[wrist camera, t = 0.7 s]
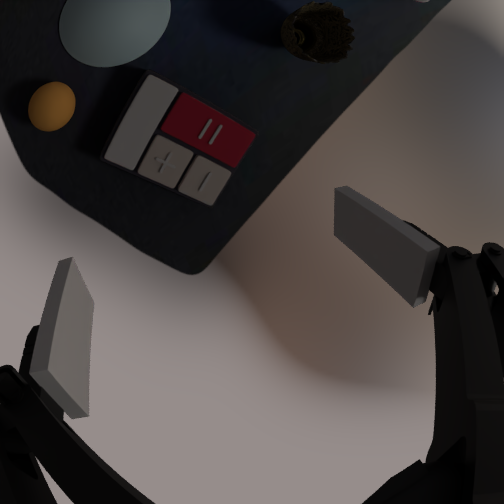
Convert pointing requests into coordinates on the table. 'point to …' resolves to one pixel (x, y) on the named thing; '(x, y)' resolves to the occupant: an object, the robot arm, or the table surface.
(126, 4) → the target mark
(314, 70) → the table surface
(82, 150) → the table surface
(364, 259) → the robot arm
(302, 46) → the dark brown rounded lump
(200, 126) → the calculator
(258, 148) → the table surface
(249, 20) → the table surface
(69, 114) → the ball
